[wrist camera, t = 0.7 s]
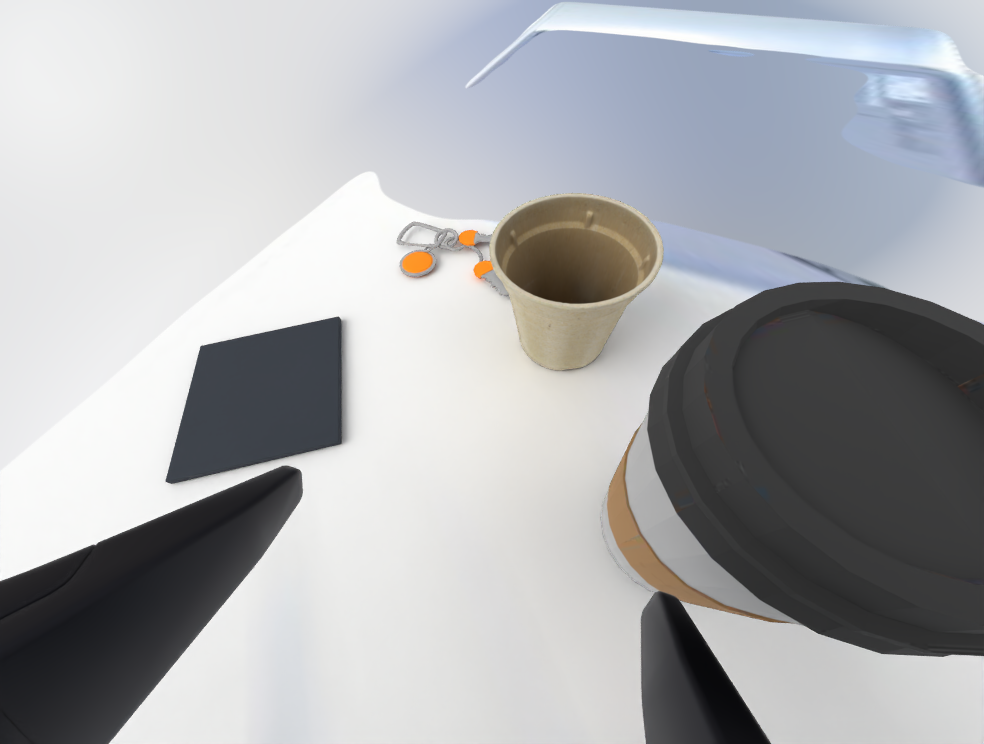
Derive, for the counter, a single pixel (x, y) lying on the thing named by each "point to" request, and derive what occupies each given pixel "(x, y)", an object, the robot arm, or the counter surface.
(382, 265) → the counter surface
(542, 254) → the flower pot
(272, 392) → the mat
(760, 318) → the coffee cup
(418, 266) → the key chain
